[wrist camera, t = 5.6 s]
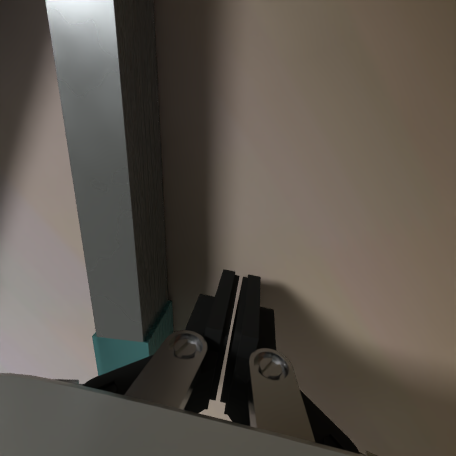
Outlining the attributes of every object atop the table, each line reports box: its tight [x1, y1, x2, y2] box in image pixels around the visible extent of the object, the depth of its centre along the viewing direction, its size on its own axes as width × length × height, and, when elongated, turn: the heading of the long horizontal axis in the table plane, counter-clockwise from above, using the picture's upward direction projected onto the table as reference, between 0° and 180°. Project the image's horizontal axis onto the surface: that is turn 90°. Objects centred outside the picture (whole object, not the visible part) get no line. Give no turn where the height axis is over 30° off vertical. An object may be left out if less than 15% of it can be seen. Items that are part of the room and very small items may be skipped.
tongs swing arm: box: [45, 0, 173, 376], centre depth 10 cm, size 22×5×4 cm, turn 178°
